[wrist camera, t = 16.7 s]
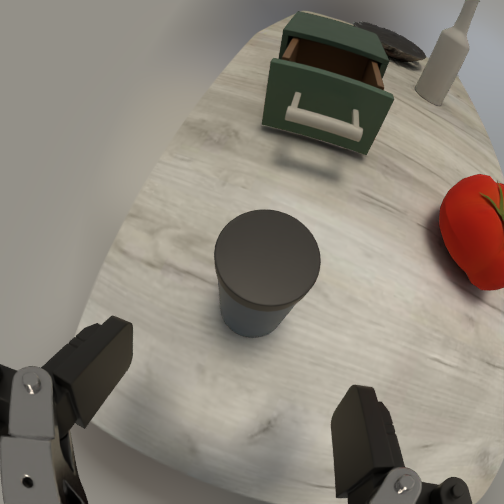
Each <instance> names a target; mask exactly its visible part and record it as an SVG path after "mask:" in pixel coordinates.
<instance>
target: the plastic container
mask: <svg viewBox="0 0 504 504" xmlns="http://www.w3.org/2000/svg"><path fill="white" fill-rule="evenodd" d="M214 260H215V269H216V274H217V277H218V285H219V297H220V309H221V314H222V317H223V319H224V321H225V323H226V324H227V326H228V327H229V328H230V329H231V330H232V331H234V332H235V333H237V334H239V335H242V336H245V337H252V338H254V337H261V336H264V335H267V334H269V333H270V332H272V331H273V330H274V329H275V328H276V327H277V326H278V325H279V324H280V323H281V321H282V320H283V319H284V318H285V317H286V315H287V314H288V313H289V312H290V310H291V309H292V308H293V307H294V306H295V304H296V303H297V302H299V301H300V300H301V299H302V298H303V297H304V296H305V295H306V294H307V293H308V291H309V290H310V289H311V288H312V286H313V285H314V283H315V282H316V280H317V277H318V275H319V270H320V263H321V261H320V252H319V248H318V245H317V242H316V240H315V238H314V237H313V235H312V234H311V232H310V231H309V230H308V229H307V227H306V226H304V225H303V224H302V223H301V222H300V221H298V220H297V219H295V218H294V217H292V216H290V215H288V214H285V213H282V212H279V211H275V210H254V211H250V212H247V213H244V214H241V215H239V216H237V217H236V218H234V219H233V220H232V221H230V222H229V223H228V224H227V225H226V226H225V227H224V229H223V230H222V231H221V233H220V235H219V237H218V239H217V242H216V245H215V251H214Z"/></svg>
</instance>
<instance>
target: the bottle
mask: <svg viewBox="0 0 504 504" xmlns="http://www.w3.org/2000/svg"><path fill="white" fill-rule="evenodd" d="M478 2H480V0H465V3H464V5H463V8H462V10H461V13H460V15H459V17H458V19H457V21H456V22H455V25H454V26H453V27H451V28H448V29H445V30H443V31H442V32H441V34H440V36H439V39H438V41H437V43H436V45H435V47H434V50H433V52H432V54H431V56H430V58H429V60H428V62H427V64H426V67H425V69H424V71H423V73H422V75H421V77H420V79H419V81H418V83H417V85H416V87H415V90H416V91H417V92H418V94H419V95H421V96H422V97H423V98H425V99H426V100H427V101H429V102H430V103H433V104H435V105H438V106H440V105H441V103H442V101H443V100H444V98H445V96H446V95H447V93H448V91H449V89H450V87H451V85H452V83H453V82H454V80H455V78H456V76H457V74H458V72H459V70H460V68H461V66H462V64H463V62H464V60H465V58H466V56H467V53H468V51H469V44H468V40H467V32H468V29H469V25H470V23H471V20H472V18H473V15H474V13H475V10H476V7H477V5H478Z"/></svg>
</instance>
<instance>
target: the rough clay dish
mask: <svg viewBox="0 0 504 504" xmlns="http://www.w3.org/2000/svg"><path fill="white" fill-rule="evenodd" d="M353 25H354V26H355V27H358V28H361V29H364V30H367V31H369V32H372V33H375V34H377V36H378V38H379V40H380V42H381V44H382V46H383V48H384V50H385V53H386V55H388V56H390V57H393V58H396V59H399V60H400V61H402V62H404V61H405V62H408V61H409V62H413V61H418V60H423V59H425V58H426V55H425V53H424V52H423V51H422V50H421V49H420V48H419V47H418V46H416V45H415V44H414V43H412V42H411V41H409V40H407V39H406V38H405V37H403V36H401V35H398V34H397V33H395V32H393V31H390V30H388V29H385V28H381V27H378V26H377V25H372V24H370V23H368V22H363V21H362V22H359V23H356V22H353Z"/></svg>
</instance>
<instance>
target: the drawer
mask: <svg viewBox="0 0 504 504" xmlns="http://www.w3.org/2000/svg"><path fill="white" fill-rule="evenodd" d="M393 101H394V97H393V94H391V93H388V92H386V91H384V84H383V81H382V77H381V74H380V71H379V68H378V64H377V61H375V60H372V59H369V58H367V57H364V56H361V55H358V54H355V53H352V52H349V51H346V50H343V49H340V48H337V47H333V46H330V45H326V44H323V43H319V42H315V41H311V40H307V39H303V38H298V37H293V39H292V40H291V42H290V44H289V46H288V47H287V49H286V51H285V53H284V54H283V56H282V60H281V59H277V58H273V59H272V61H271V63H270V70H269V77H268V84H267V91H266V98H265V105H264V112H263V119H262V125H266V126H270V127H274V128H278V129H282V130H286V131H290V132H294V133H298V134H301V135H305V136H308V137H312V138H315V139H319V140H322V141H325V142H329V143H332V144H335V145H338V146H341V147H344V148H347V149H350V150H353V151H356V152H359V153H362V154H364V155H367V153H368V151H369V149H370V147H371V145H372V143H373V141H374V139H375V137H376V135H377V133H378V131H379V129H380V127H381V125H382V123H383V121H384V119H385V117H386V115H387V113H388V111H389V109H390V107H391V105H392V103H393Z"/></svg>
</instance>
